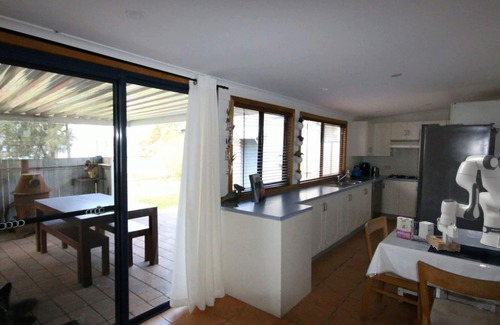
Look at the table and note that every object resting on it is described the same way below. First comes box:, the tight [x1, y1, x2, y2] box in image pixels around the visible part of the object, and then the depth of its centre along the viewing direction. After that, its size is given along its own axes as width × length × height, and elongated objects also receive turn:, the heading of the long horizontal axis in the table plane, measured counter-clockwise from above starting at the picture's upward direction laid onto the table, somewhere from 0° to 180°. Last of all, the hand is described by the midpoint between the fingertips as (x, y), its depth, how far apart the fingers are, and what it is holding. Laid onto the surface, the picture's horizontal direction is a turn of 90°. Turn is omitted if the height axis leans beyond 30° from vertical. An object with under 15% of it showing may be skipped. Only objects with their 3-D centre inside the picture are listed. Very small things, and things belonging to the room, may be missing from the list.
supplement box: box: [418, 220, 435, 240], centre depth 213 cm, size 7×7×13 cm
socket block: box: [425, 235, 461, 253], centre depth 195 cm, size 14×18×5 cm
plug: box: [442, 232, 453, 244], centre depth 190 cm, size 4×4×10 cm
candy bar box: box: [396, 216, 415, 241], centre depth 213 cm, size 11×5×16 cm, turn 37°
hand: (447, 240), depth 190 cm, fingers closed on plug, 4 cm apart
